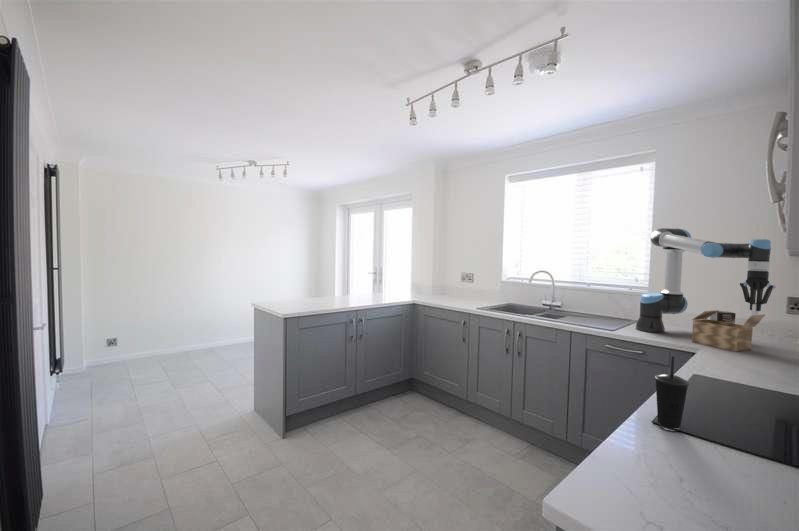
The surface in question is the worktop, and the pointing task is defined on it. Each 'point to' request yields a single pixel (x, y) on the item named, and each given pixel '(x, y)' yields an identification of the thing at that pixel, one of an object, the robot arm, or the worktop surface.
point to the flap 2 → (752, 321)
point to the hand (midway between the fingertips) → (754, 317)
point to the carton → (722, 335)
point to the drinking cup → (670, 398)
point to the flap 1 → (705, 315)
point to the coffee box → (723, 317)
